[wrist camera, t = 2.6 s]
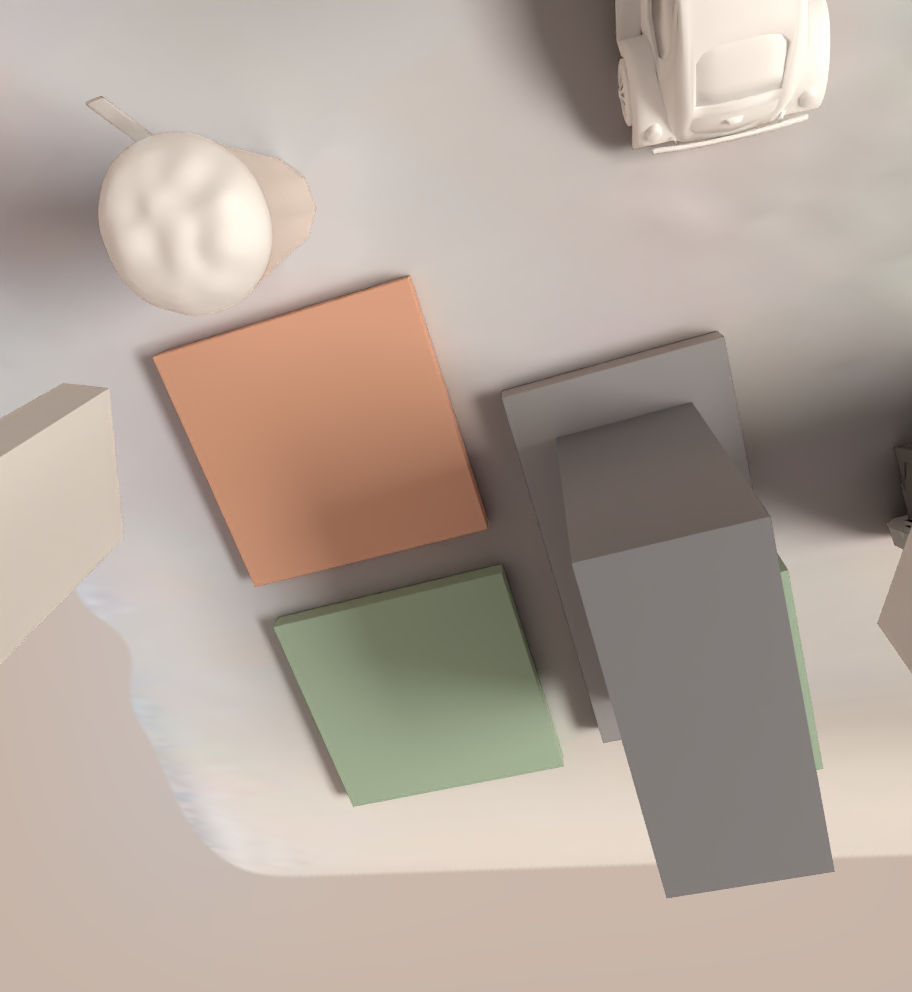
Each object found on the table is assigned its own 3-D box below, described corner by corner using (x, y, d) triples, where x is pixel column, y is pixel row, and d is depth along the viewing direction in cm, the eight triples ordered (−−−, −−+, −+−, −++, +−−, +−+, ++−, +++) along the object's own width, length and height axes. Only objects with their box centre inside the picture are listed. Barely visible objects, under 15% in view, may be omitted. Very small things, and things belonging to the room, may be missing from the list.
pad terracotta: (161, 352, 31) (152, 357, 30) (410, 275, 29) (407, 278, 29) (260, 577, 35) (255, 587, 34) (488, 520, 33) (487, 529, 32)
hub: (502, 390, 31) (493, 508, 21) (717, 331, 29) (822, 426, 19) (600, 728, 36) (632, 950, 26) (786, 691, 35) (894, 911, 25)
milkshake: (295, 91, 27) (182, 61, 18) (353, 250, 29) (278, 296, 20) (175, 139, 28) (8, 133, 19) (239, 290, 30) (115, 352, 21)
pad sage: (278, 617, 35) (273, 627, 35) (501, 563, 34) (501, 573, 33) (356, 794, 39) (353, 806, 38) (562, 754, 37) (563, 766, 36)
